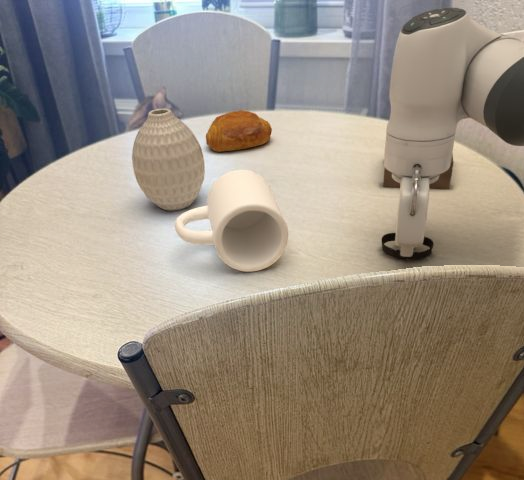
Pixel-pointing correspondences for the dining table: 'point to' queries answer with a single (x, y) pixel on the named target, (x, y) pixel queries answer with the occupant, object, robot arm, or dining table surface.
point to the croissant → (237, 131)
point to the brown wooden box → (441, 183)
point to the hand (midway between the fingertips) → (406, 244)
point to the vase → (168, 161)
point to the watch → (396, 253)
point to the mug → (239, 222)
